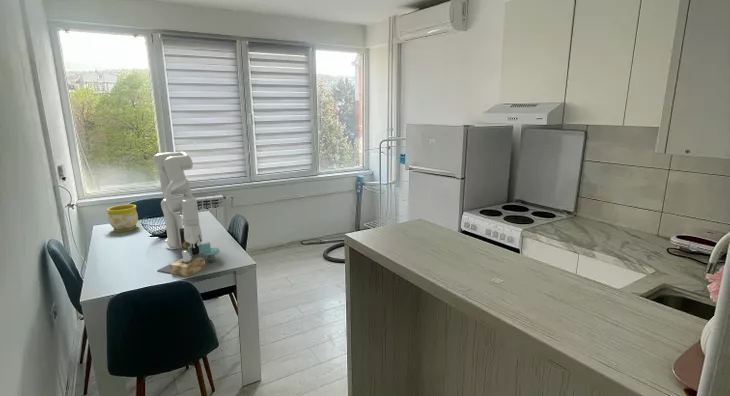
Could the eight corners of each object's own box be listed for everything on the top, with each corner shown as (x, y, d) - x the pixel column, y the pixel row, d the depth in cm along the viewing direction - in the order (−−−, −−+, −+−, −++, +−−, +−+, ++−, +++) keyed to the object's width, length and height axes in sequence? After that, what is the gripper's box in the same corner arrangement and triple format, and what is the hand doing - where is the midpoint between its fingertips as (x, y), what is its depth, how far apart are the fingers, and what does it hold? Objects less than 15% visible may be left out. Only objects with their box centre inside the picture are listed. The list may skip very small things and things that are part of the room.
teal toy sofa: (217, 256, 217) (215, 238, 214) (222, 261, 210) (220, 243, 207) (189, 263, 208) (186, 244, 206) (193, 268, 201) (190, 249, 198)
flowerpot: (136, 223, 283) (133, 203, 279) (142, 229, 270) (138, 207, 266) (108, 229, 271) (104, 207, 267) (113, 235, 258) (109, 212, 254)
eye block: (170, 273, 196) (169, 264, 195) (188, 264, 207) (187, 256, 206) (188, 276, 192) (187, 267, 191) (205, 267, 203) (204, 258, 201)
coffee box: (182, 257, 216) (179, 231, 212) (182, 254, 222) (178, 228, 218) (199, 254, 220) (196, 228, 216) (199, 251, 226) (195, 225, 222)
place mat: (157, 271, 198) (157, 270, 198) (171, 264, 207) (170, 263, 206) (170, 273, 195) (169, 272, 195) (183, 266, 204) (183, 265, 203)
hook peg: (183, 271, 198) (180, 251, 196) (188, 268, 202) (185, 249, 199) (188, 272, 197) (185, 252, 194) (194, 269, 200) (191, 250, 198)
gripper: (177, 221, 199) (181, 253, 203) (192, 225, 190) (197, 259, 194) (190, 218, 205) (194, 249, 209) (206, 222, 196) (210, 254, 200)
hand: (195, 254), depth 202 cm, fingers closed
